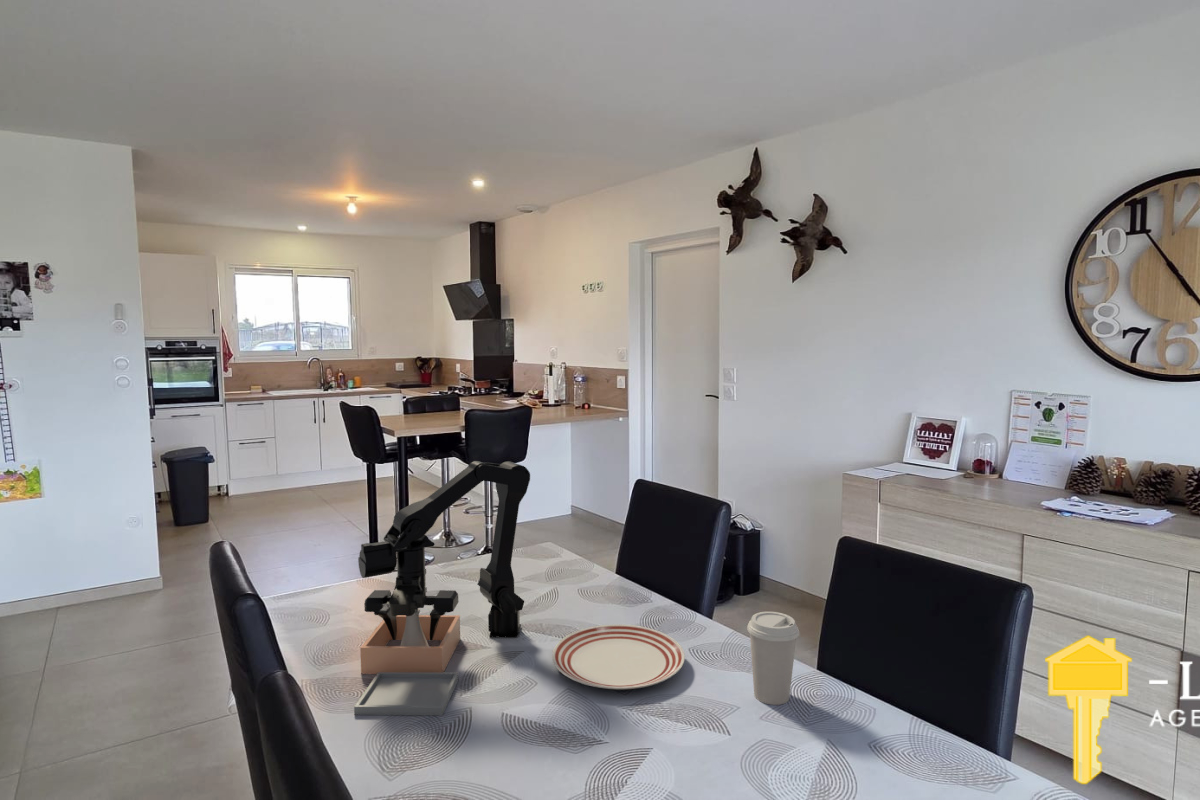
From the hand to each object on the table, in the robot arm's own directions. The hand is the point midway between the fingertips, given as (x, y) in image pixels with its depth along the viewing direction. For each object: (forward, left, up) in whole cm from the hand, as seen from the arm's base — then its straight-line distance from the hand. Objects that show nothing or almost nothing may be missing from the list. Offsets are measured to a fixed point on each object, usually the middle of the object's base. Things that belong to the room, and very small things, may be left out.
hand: (413, 639), depth 147 cm
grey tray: (-4, +17, -4) cm, 18 cm away
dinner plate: (-44, +4, -4) cm, 44 cm away
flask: (0, 0, -4) cm, 4 cm away
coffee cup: (-73, +16, -4) cm, 75 cm away
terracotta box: (0, 0, -4) cm, 4 cm away
